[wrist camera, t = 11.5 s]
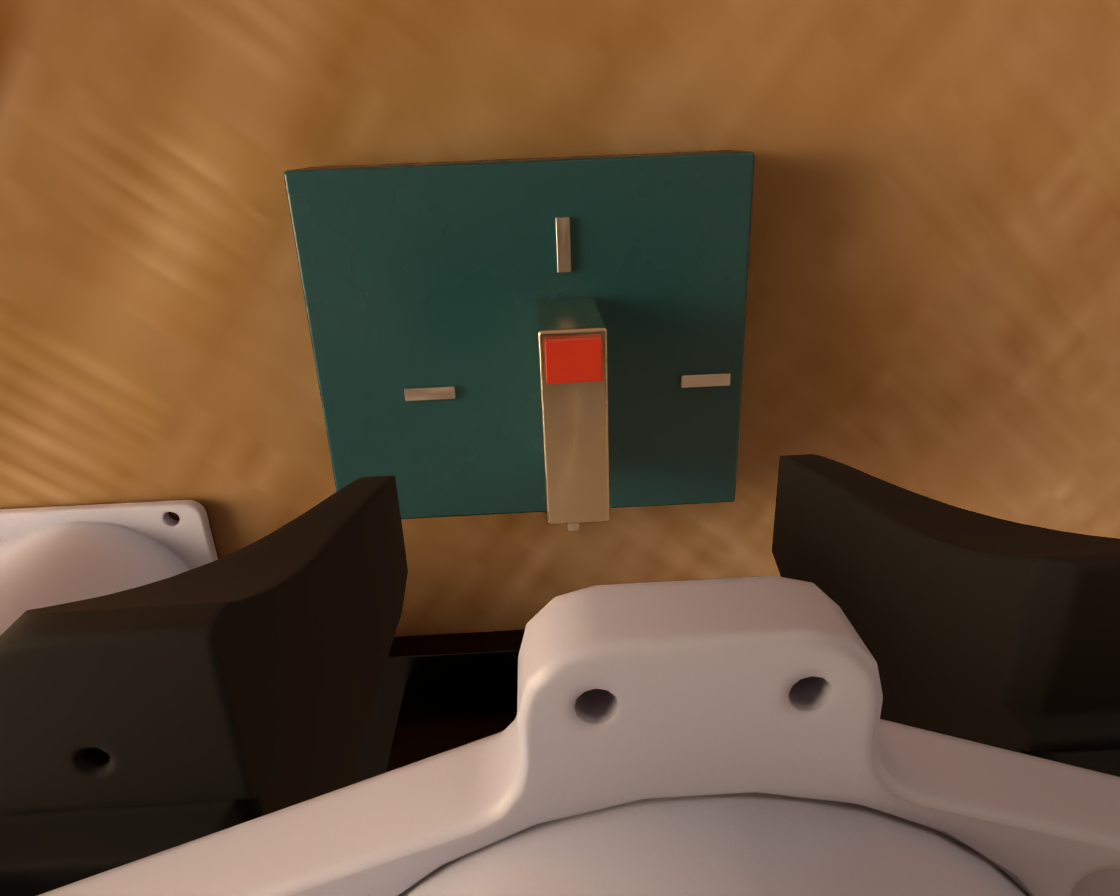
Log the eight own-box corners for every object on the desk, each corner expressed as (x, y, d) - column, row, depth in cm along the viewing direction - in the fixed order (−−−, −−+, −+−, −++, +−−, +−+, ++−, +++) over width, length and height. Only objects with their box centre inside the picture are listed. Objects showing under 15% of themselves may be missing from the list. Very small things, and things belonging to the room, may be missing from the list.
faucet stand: (601, 624, 28) (632, 829, 19) (604, 789, 31) (632, 1025, 22) (325, 640, 27) (240, 853, 19) (356, 804, 30) (294, 1048, 22)
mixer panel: (360, 504, 25) (342, 543, 23) (308, 167, 21) (280, 171, 19) (715, 485, 26) (736, 522, 23) (731, 150, 22) (758, 151, 19)
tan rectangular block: (598, 465, 22) (611, 527, 19) (544, 468, 22) (547, 530, 19) (594, 296, 20) (608, 329, 17) (535, 299, 20) (537, 333, 17)
